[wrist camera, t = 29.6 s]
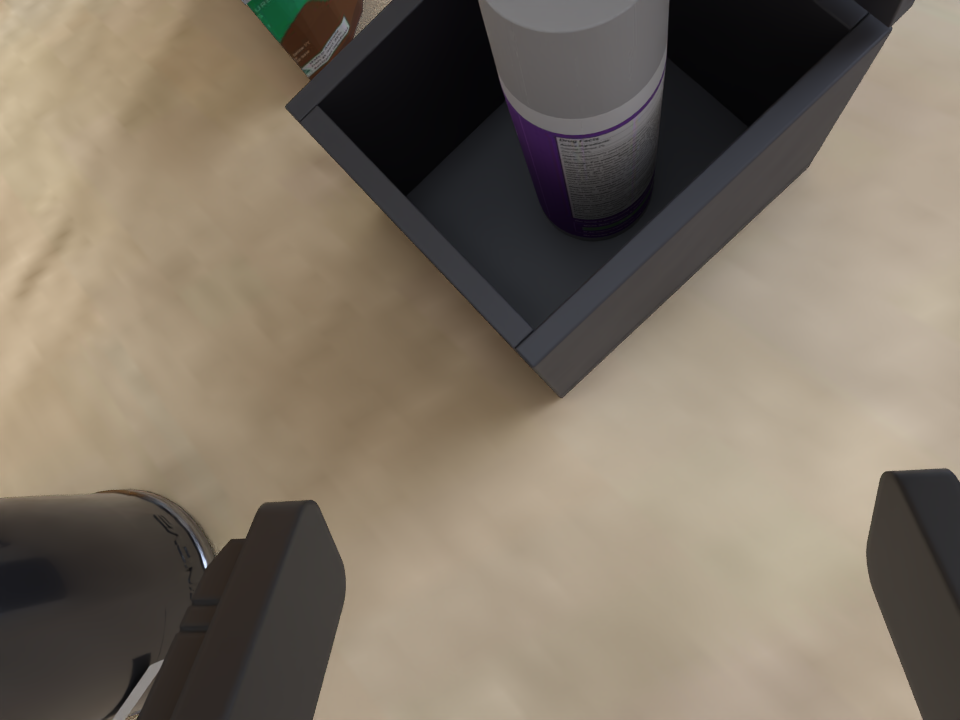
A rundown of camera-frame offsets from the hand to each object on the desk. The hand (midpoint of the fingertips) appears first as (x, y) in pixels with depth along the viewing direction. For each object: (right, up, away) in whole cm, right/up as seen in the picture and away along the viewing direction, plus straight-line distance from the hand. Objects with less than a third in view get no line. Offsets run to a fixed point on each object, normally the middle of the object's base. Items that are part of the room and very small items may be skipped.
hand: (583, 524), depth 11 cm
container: (+3, +9, +20) cm, 22 cm away
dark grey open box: (+3, +10, +21) cm, 23 cm away
